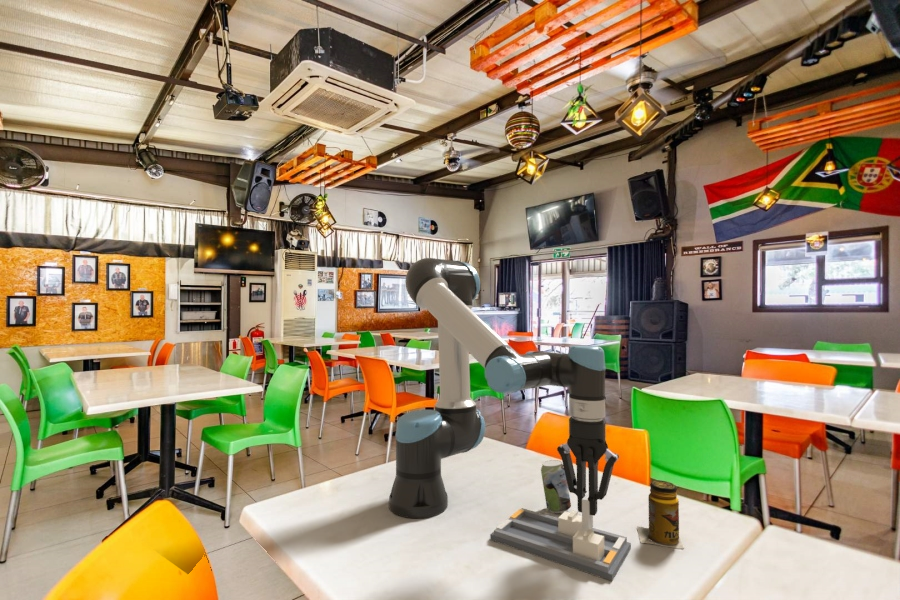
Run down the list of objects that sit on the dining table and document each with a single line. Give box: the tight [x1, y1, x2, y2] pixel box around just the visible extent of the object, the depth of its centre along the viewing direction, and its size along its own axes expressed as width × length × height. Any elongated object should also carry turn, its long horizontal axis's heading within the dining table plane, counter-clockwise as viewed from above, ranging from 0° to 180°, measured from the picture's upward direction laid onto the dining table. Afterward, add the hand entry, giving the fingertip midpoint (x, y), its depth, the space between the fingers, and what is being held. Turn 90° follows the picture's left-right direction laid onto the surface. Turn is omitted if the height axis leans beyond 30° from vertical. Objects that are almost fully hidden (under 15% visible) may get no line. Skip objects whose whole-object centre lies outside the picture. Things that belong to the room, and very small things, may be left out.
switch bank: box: [489, 508, 632, 582], centre depth 96 cm, size 26×14×2 cm, turn 55°
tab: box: [573, 529, 604, 561], centre depth 89 cm, size 5×4×4 cm
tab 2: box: [557, 510, 582, 536], centre depth 98 cm, size 5×4×4 cm
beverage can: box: [540, 459, 572, 514], centre depth 113 cm, size 6×7×12 cm
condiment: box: [637, 480, 684, 550], centre depth 99 cm, size 7×8×12 cm
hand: (587, 528), depth 96 cm, fingers closed
